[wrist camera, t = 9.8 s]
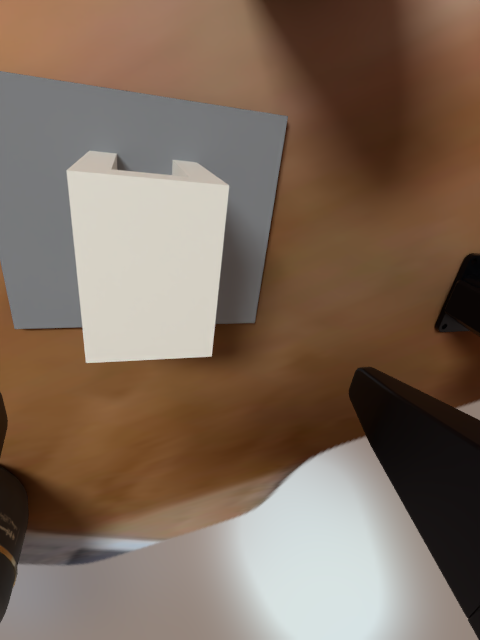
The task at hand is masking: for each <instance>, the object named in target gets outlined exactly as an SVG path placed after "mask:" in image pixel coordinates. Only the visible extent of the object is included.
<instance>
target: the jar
mask: <svg viewBox="0 0 480 640" xmlns="http://www.w3.org/2000/svg"><path fill="white" fill-rule="evenodd" d="M28 515H29V512H28V497H27V493H26V490H25V488H24V487H23V485H22V484H21V483H20V481H19V480H18V479H17V478H16V477H15V476H14V475H13V474H12V473H10V472H9V471H8V470H6V469H4V468H2V467H0V622H1V621H2V619H3V617H4V614H5V612H6V609H7V606H8V603H9V600H10V596H11V592H12V588H13V587H14V585H15V581H16V577H17V565H18V561H19V557H20V553H21V549H22V545H23V541H24V537H25V533H26V529H27V524H28Z"/></svg>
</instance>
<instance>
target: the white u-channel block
mask: <svg viewBox="0 0 480 640" xmlns="http://www.w3.org/2000/svg"><path fill="white" fill-rule="evenodd" d="M66 171H67V181H68V191H69V200H70V210H71V220H72V230H73V240H74V249H75V259H76V269H77V279H78V289H79V298H80V308H81V318H82V328H83V337H84V347H85V357H86V363H96V362H115V361H135V360H155V359H174V358H194V357H212V349H213V339H214V330H215V320H216V310H217V301H218V291H219V281H220V271H221V262H222V252H223V242H224V232H225V223H226V213H227V203H228V193H229V185H228V184H227V183H225V182H224V181H222V180H221V179H219V178H218V177H217V176H215V175H214V174H212V173H211V172H210V171H208V170H207V169H205V168H204V167H203V166H201V165H200V164H198V163H197V162H189V161H180V160H173V161H172V175H165V174H154V173H144V172H134V171H123V170H117V154H116V153H107V152H98V151H88V152H87V153H86V154H85V155H84V156H83V157H81V158H80V159H79V160H78V161H77V162H76V163H74V164H73V165H72V166H71V167H70V168H69V169H67V170H66Z"/></svg>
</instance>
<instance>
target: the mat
mask: <svg viewBox="0 0 480 640" xmlns="http://www.w3.org/2000/svg"><path fill="white" fill-rule="evenodd" d="M287 119H288V116H283V115H276V114H270V113H264V112H257V111H251V110H244V109H238V108H232V107H225V106H219V105H212V104H206V103H200V102H193V101H187V100H181V99H174V98H168V97H161V96H155V95H149V94H142V93H136V92H129V91H123V90H117V89H110V88H104V87H97V86H91V85H85V84H78V83H72V82H65V81H59V80H53V79H46V78H40V77H33V76H27V75H21V74H14V73H8V72H2V71H0V261H1V266H2V271H3V275H4V280H5V285H6V290H7V294H8V299H9V304H10V309H11V313H12V318H13V323H14V328H15V329H34V328H73V327H82V318H81V308H80V298H79V289H78V279H77V269H76V259H75V249H74V240H73V230H72V220H71V210H70V200H69V191H68V181H67V171H66V170H67V169H69V168H70V167H71V166H72V165H73V164H74V163H76V162H77V161H78V160H79V159H80V158H81V157H83V156H84V155H85V154H86V153H87V152H88V151H98V152H107V153H116V154H117V170H123V171H134V172H144V173H154V174H165V175H172V161H173V160H180V161H189V162H197V163H198V164H200V165H201V166H203V167H204V168H205V169H207V170H208V171H210V172H211V173H212V174H214V175H215V176H217V177H218V178H219V179H221V180H222V181H224V182H225V183H227V184H228V185H229V193H228V203H227V213H226V223H225V232H224V242H223V252H222V262H221V271H220V281H219V291H218V301H217V310H216V320H215V324H230V323H255V317H256V311H257V305H258V299H259V293H260V286H261V280H262V274H263V268H264V262H265V255H266V249H267V243H268V237H269V230H270V224H271V218H272V212H273V206H274V199H275V193H276V187H277V181H278V175H279V168H280V162H281V156H282V150H283V144H284V137H285V131H286V125H287Z"/></svg>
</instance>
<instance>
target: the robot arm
mask: <svg viewBox="0 0 480 640" xmlns="http://www.w3.org/2000/svg"><path fill="white" fill-rule="evenodd" d="M435 327H436V329H437V330H439V331H440V332H455V331H472V332H473V333H475V334H476V335H478V336H480V254H476V253H472V254H469V255H468V256H467V257H466V258H465V260H464V262H463V264H462V266H461V269H460V271H459V273H458V275H457V278H456V280H455V282H454V285H453V287H452V289H451V291H450V294H449V296H448V298H447V300H446V303H445V305H444V307H443V309H442V312H441V314H440V316H439V319H438V321H437V323H436V326H435ZM349 397H350V400H351V402H352V405H353V407H354V409H355V411H356V414H357V416H358V418H359V421H360V423H361V425H362V427H363V430H364V432H365V434H366V437H367V438H368V441H369V443H370V445H371V447H372V448H373V451H374V452H375V454H376V456H377V458H378V459H379V461H380V463H381V465H382V466H383V469H384V470H385V472H386V474H387V476H388V477H389V479H390V481H391V483H392V485H393V486H394V488H395V490H396V492H397V493H398V495H399V497H400V499H401V501H402V502H403V504H404V506H405V508H406V510H407V511H408V513H409V515H410V517H411V519H412V520H413V522H414V524H415V526H416V528H417V529H418V531H419V533H420V535H421V536H422V538H423V540H424V542H425V544H426V545H427V547H428V549H429V551H430V553H431V554H432V556H433V558H434V560H435V561H436V563H437V565H438V567H439V569H440V570H441V572H442V574H443V576H444V577H445V579H446V581H447V583H448V585H449V587H450V588H451V590H452V592H453V594H454V596H455V597H456V599H457V601H458V603H459V604H460V606H461V608H462V610H463V612H464V613H465V615H466V617H467V618H468V621H469V623H470V625H471V626H472V628H473V630H474V631H475V634H476V635H477V637H478V639H479V640H480V420H478V419H476V418H474V417H472V416H470V415H468V414H465V413H464V412H462V411H460V410H458V409H456V408H454V407H452V406H450V405H448V404H446V403H444V402H441V401H439V400H437V399H435V398H433V397H431V396H429V395H427V394H425V393H423V392H421V391H419V390H417V389H415V388H413V387H411V386H409V385H407V384H405V383H403V382H401V381H399V380H397V379H395V378H393V377H391V376H389V375H387V374H385V373H383V372H381V371H379V370H377V369H375V368H372V367H360V368H358V369H357V370H356V371H355V374H354V377H353V379H352V382H351V385H350V388H349ZM7 424H8V420H7V414H6V410H5V406H4V402H3V398H2V394H1V393H0V456H1V452H2V448H3V443H4V439H5V435H6V430H7Z"/></svg>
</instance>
